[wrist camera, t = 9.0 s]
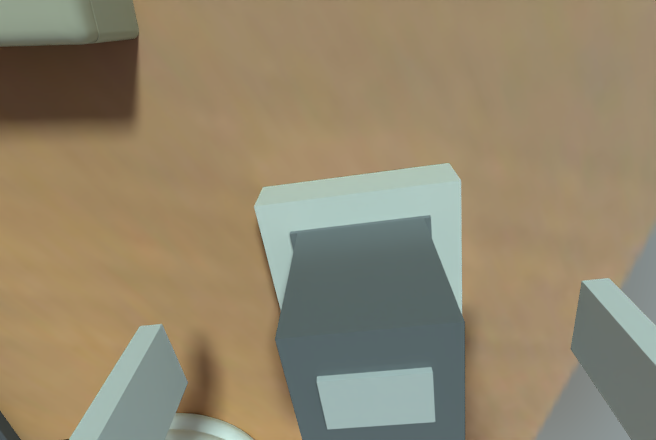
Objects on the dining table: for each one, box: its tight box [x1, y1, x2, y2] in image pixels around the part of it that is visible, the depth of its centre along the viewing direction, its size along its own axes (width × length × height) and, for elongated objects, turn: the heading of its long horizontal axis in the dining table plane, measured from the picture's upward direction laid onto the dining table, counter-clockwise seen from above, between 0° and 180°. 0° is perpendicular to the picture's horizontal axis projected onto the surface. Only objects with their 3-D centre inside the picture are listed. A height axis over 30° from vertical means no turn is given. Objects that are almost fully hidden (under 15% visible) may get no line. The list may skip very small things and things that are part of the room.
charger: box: [275, 218, 465, 440], centre depth 14 cm, size 5×5×6 cm
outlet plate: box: [254, 163, 462, 314], centre depth 20 cm, size 14×8×2 cm, turn 9°
